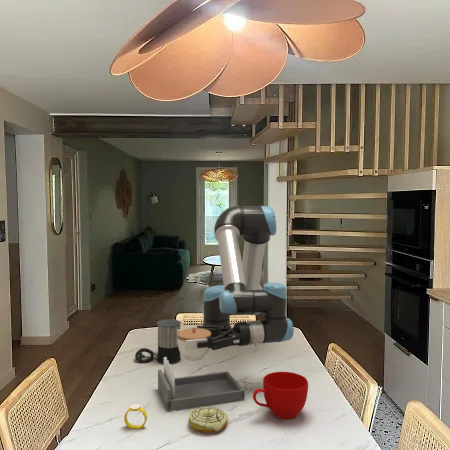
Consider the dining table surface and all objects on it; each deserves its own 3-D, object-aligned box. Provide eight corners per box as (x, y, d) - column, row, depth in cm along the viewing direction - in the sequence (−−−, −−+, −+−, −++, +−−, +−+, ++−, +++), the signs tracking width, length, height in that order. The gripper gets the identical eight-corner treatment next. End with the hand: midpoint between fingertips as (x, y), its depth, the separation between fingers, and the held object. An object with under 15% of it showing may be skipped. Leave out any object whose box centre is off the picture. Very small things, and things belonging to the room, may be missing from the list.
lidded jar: (206, 364, 132) (206, 333, 131) (172, 361, 134) (172, 331, 134) (214, 352, 142) (214, 324, 142) (182, 350, 145) (182, 322, 144)
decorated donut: (225, 437, 115) (225, 423, 115) (185, 434, 116) (185, 421, 116) (229, 418, 125) (229, 405, 125) (192, 415, 127) (192, 402, 126)
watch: (124, 430, 118) (122, 409, 118) (126, 425, 121) (125, 404, 121) (146, 430, 118) (144, 408, 118) (148, 424, 121) (146, 403, 120)
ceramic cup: (242, 411, 129) (242, 377, 129) (291, 400, 136) (292, 368, 136) (264, 432, 117) (264, 395, 117) (316, 419, 124) (317, 385, 124)
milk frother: (185, 361, 169) (185, 323, 168) (149, 370, 159) (148, 330, 158) (166, 351, 180) (166, 315, 179) (131, 359, 170) (131, 321, 169)
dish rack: (158, 389, 144) (157, 356, 143) (227, 380, 151) (227, 348, 151) (167, 411, 128) (167, 374, 128) (244, 400, 136) (244, 365, 136)
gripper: (261, 356, 133) (190, 364, 126) (235, 334, 155) (173, 340, 148) (261, 331, 133) (190, 338, 126) (235, 313, 155) (173, 318, 147)
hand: (181, 339), depth 137 cm, fingers closed on lidded jar, 11 cm apart
